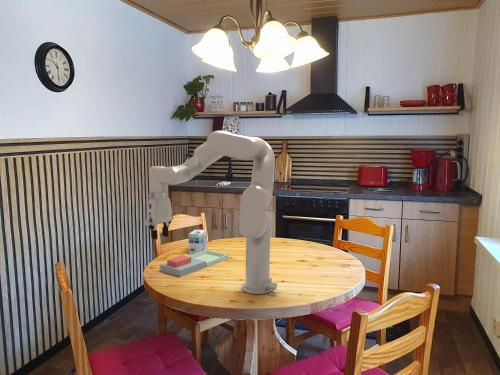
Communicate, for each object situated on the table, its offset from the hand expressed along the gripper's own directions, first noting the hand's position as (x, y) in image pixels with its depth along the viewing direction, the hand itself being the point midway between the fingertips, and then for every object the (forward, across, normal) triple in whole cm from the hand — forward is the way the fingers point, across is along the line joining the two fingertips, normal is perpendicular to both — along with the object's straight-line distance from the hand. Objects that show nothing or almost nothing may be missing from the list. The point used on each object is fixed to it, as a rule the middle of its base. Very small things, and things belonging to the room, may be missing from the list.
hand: (159, 237), depth 165 cm
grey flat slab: (+17, +13, 0) cm, 22 cm away
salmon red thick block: (+14, +11, 0) cm, 18 cm away
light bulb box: (+18, +38, +14) cm, 44 cm away
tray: (+17, +29, 0) cm, 34 cm away
